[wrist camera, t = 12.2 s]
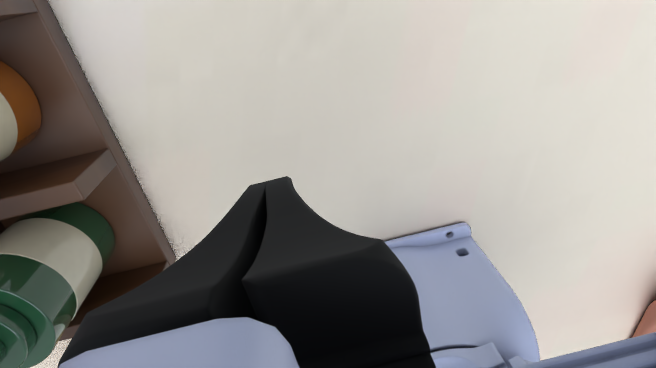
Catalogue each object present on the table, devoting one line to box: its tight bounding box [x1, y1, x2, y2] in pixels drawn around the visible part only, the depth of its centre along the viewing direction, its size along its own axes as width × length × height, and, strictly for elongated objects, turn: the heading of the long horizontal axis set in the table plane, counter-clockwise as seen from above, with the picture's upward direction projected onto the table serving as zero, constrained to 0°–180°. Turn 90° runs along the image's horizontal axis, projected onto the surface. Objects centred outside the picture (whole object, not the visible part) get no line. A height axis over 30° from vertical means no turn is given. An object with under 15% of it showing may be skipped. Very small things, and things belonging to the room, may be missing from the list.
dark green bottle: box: [0, 202, 115, 368], centre depth 18 cm, size 5×5×10 cm
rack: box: [0, 0, 176, 341], centre depth 18 cm, size 8×16×8 cm, turn 12°
